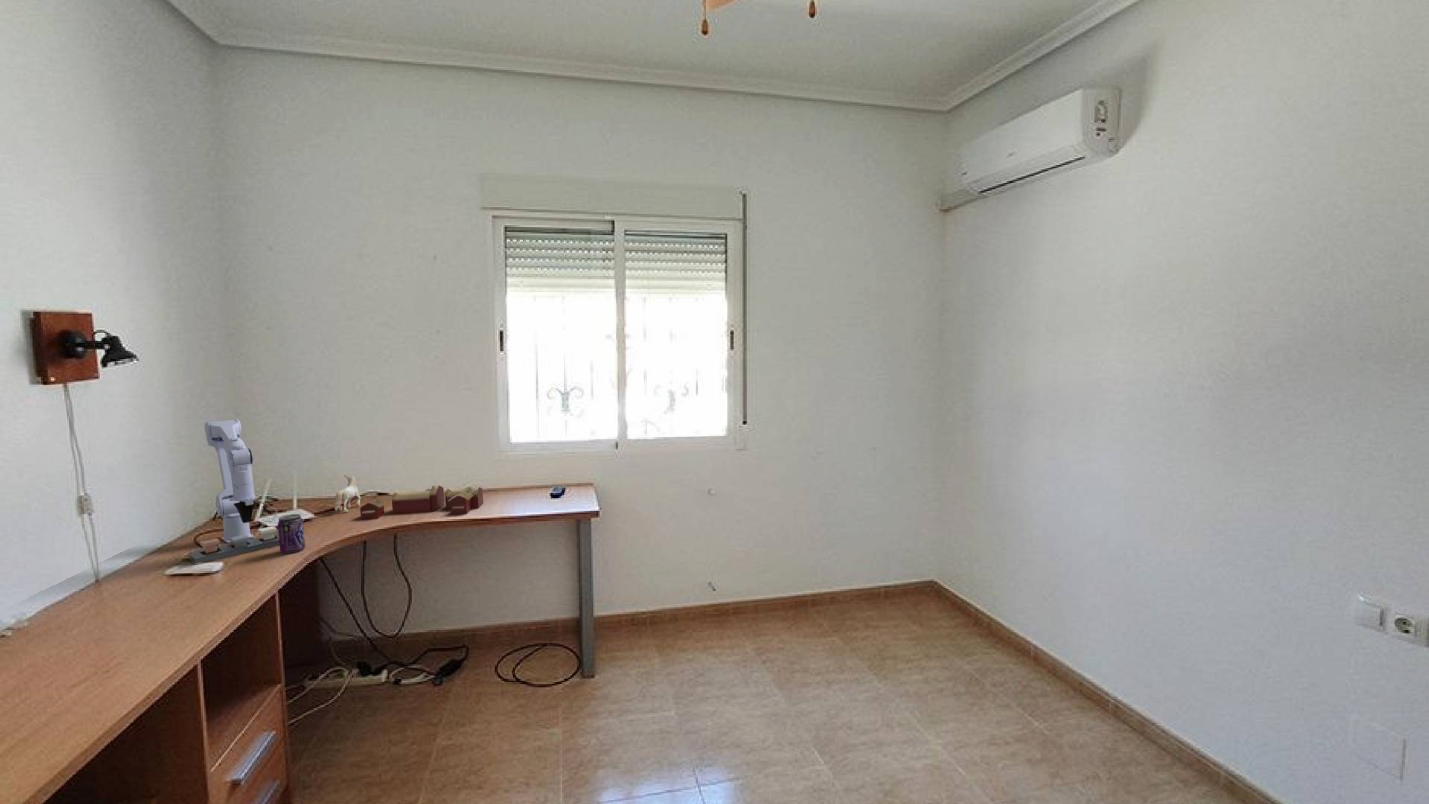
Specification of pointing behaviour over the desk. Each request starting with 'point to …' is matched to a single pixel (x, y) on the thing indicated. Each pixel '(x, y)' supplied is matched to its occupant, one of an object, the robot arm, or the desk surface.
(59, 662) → the desk surface
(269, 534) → the off-white block
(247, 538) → the light grey block
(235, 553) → the panel
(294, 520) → the beverage can
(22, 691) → the desk surface
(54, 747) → the desk surface
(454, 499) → the toy houses
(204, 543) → the terracotta key
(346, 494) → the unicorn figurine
